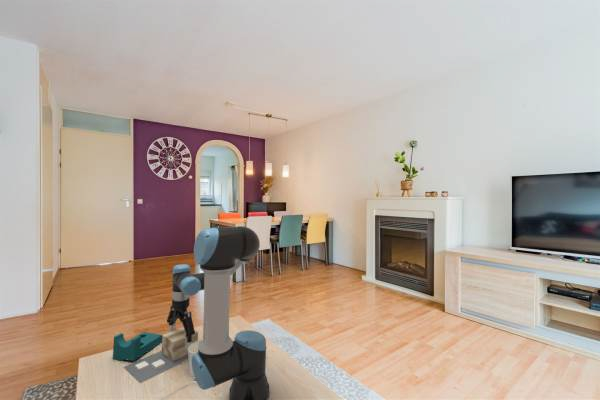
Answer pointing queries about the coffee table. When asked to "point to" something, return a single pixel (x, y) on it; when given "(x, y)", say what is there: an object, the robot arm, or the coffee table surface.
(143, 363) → the white square tile
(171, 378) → the coffee table surface
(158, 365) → the cream flat square
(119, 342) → the teal l-shaped bracket
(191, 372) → the candle holder
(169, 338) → the block
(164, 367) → the board
